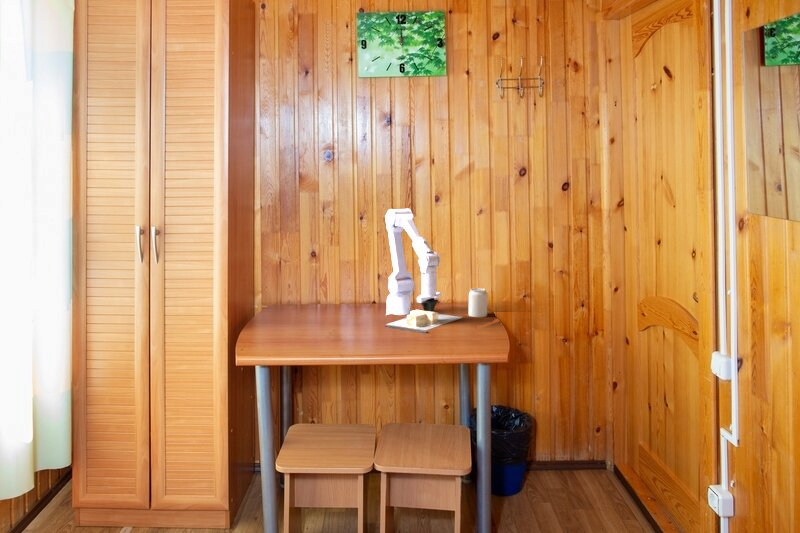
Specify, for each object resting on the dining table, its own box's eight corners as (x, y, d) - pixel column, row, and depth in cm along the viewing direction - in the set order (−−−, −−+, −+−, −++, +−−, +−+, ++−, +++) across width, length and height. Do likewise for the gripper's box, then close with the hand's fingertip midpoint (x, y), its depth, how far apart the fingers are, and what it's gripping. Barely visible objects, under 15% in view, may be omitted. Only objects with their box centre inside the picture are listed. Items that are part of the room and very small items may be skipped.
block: (400, 324, 252) (400, 314, 252) (416, 319, 261) (416, 309, 261) (422, 328, 247) (422, 317, 246) (437, 322, 256) (437, 312, 255)
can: (474, 315, 275) (475, 286, 274) (490, 317, 271) (491, 288, 269) (464, 318, 269) (465, 289, 268) (480, 320, 265) (481, 291, 263)
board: (385, 327, 253) (385, 324, 253) (424, 314, 276) (424, 312, 276) (425, 333, 243) (425, 330, 243) (462, 320, 266) (462, 317, 266)
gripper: (427, 287, 250) (427, 322, 251) (447, 282, 261) (447, 315, 263) (412, 285, 253) (412, 320, 255) (432, 280, 265) (431, 313, 267)
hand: (428, 318), depth 260 cm, fingers closed
